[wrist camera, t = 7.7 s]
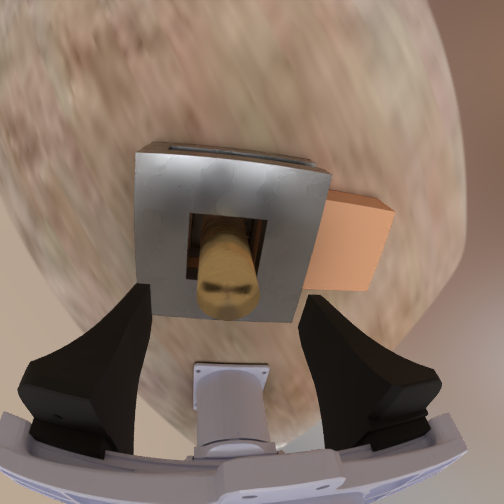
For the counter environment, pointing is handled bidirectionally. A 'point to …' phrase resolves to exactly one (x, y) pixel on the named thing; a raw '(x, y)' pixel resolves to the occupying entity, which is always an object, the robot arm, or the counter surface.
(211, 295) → the brass pin
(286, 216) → the bracket
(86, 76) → the counter surface
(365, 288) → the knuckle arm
